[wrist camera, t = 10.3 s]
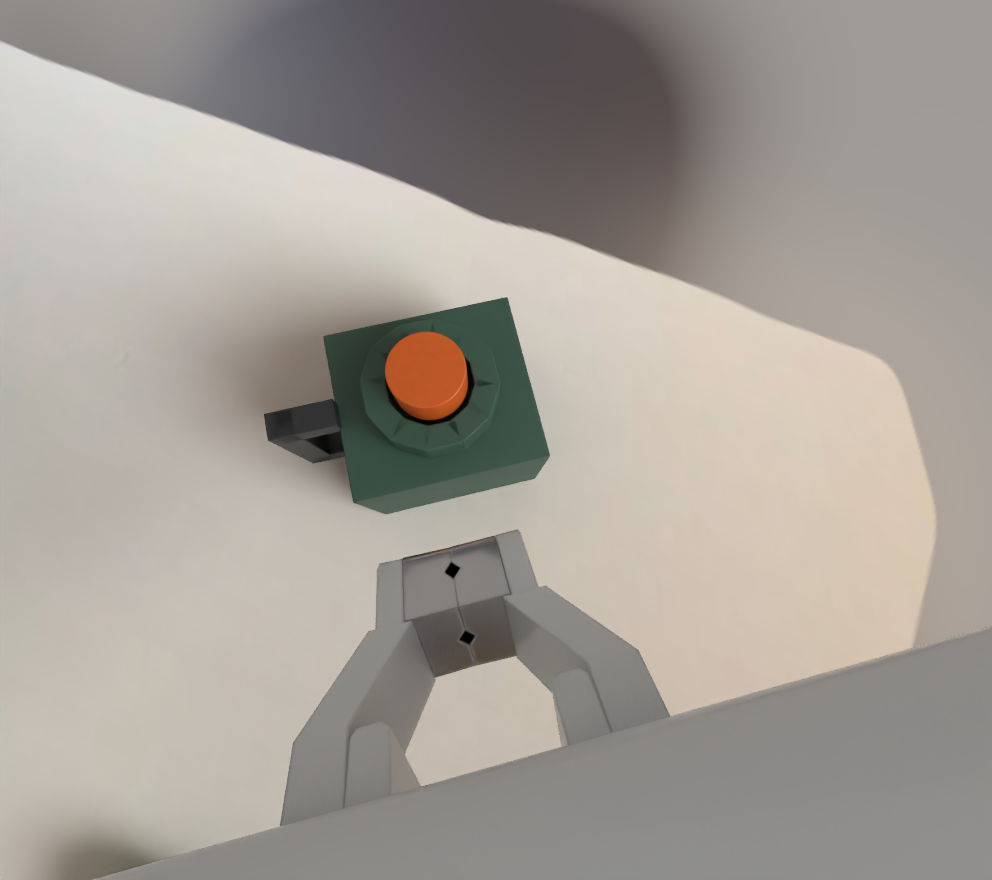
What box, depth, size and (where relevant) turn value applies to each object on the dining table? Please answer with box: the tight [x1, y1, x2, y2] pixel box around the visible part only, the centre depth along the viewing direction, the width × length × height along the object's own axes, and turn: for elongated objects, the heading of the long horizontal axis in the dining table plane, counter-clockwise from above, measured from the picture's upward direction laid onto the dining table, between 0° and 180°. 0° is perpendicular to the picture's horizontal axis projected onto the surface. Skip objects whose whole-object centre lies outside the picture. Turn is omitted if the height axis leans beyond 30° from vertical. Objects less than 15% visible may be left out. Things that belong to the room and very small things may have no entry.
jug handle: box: [264, 399, 345, 463], centre depth 28 cm, size 3×1×7 cm, turn 104°
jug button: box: [385, 332, 468, 420], centre depth 23 cm, size 4×4×2 cm
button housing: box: [323, 297, 550, 514], centre depth 29 cm, size 10×9×10 cm
